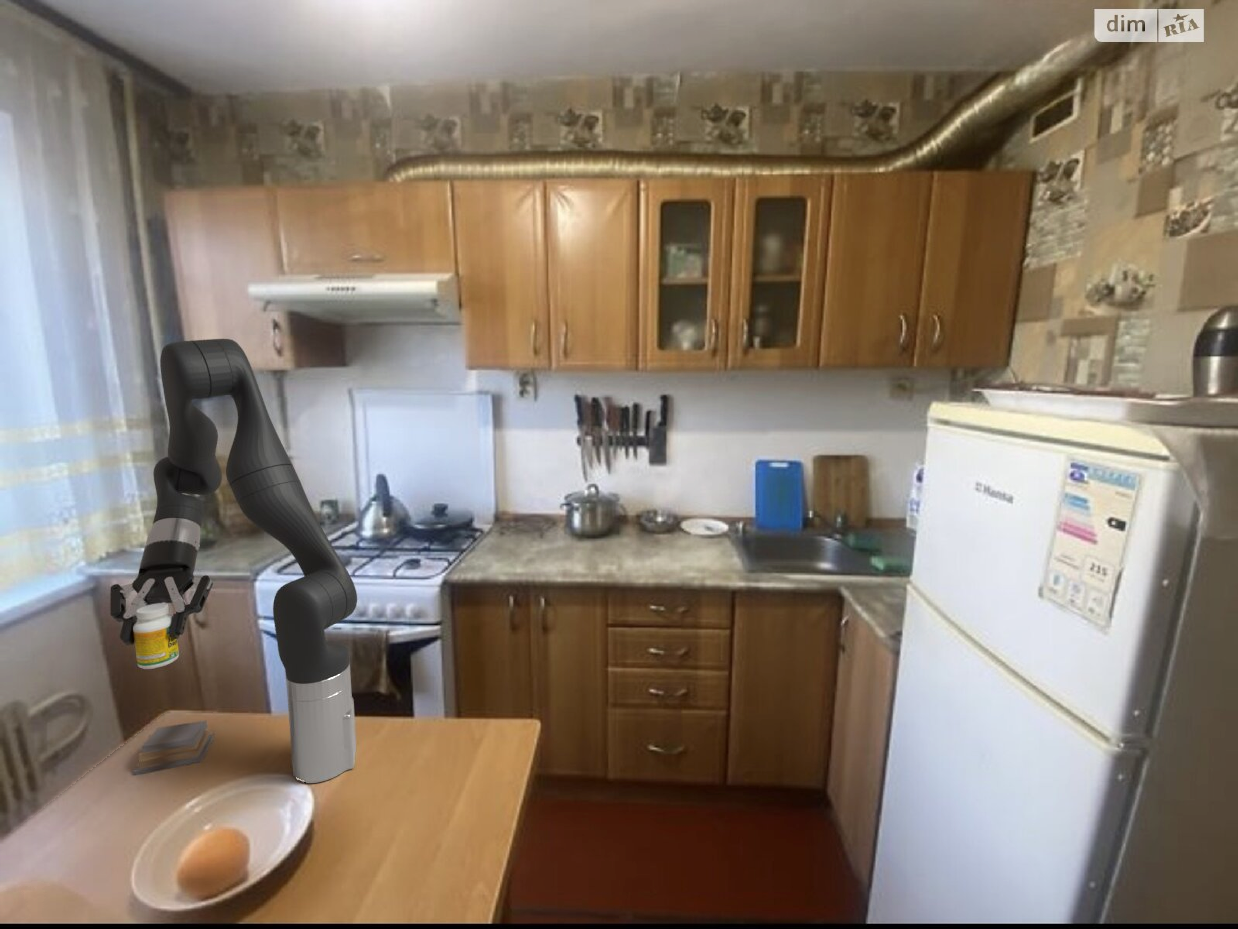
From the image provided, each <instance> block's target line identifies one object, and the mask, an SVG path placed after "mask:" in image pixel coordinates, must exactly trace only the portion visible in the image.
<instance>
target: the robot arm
mask: <svg viewBox="0 0 1238 929" xmlns="http://www.w3.org/2000/svg"><path fill="white" fill-rule="evenodd" d="M159 366H160V375H161V382H162V390H163V395H164V402H165V408H166V413H167V417H168V424H169V434H168V442H167V445H168V446H167V456H165V457H163V458H161V459H159V461H158V462H157V463H156V464H155V466H154V467H153V472H152V473H153V474H152V476H153V483H154V487H155V492H156V508H155V513H154V518H153V522H152V525H151V528H150V530H149V532H148V534H147V537H146V540H145V541H146V542H145V546H144V549H143V553H142V557H141V561H140V564H139V569H138V575H137V577H136V578H135V579H134V580H133V581H132V583H129V584H124V585H120V584H118V583H114V584H113V585H111V587H110V596H109V597H110V599H109V602H110V606H109V607H110V609H109V612H110V616H111V617H112V618H113V619H114V620H116V622H117V623H122V622H123V623H122V626H121V631H120V634H119V638H120V640H121V641H122V642H123V643H124V644H125V645H126V646H131V645H135V641H134V633H133V626H134V625H135V623H136V622H138V621H139V620H138V618H137V610H138V609H139V608H141V607H144V606H147V605H151V604H157V603H166V604H171V603H173V606H174V609H175V613H173V614H172V616H173V619H172V624H171V628H170V637H171V638H172V639H177V640H178V639H179V638H180V636H181V635H183V634H184V633H185V629H186V624H187V619H188V617H189V616H190V615H192V614H195V613H196V614H198V613H201V612H202V611H203V608H204V607H205V604H206V603H207V602H206V601H207V599H208V597H209V595H210V592H211V590H212V587H213V586H214V583H213V581H212V579H211V578H210V576H209V575H202V577H201V576H200V577H197V576H194V573H195V568H196V562H197V559H198V558H197V557H198V553H199V550H200V545H201V544H200V543H201V528H202V524H203V519H204V513H205V505H204V503H203V502H202V500H200V499H198V498H196V497H194V496H191V495H195V496H208V495H212V494H214V493H215V492H217V490H219V489H220V487H221V484H222V480H223V473H222V468H221V466H220V464H219V462H218V461H219V460H218V459H217V456H216V452H217V446H218V441H219V433H218V429H217V426H216V424H215V423H214V421H213V420H212V419H211V417H209V416H207V414H205V413H204V412H203V411H201V410H200V409H199V408H198V407H197V406H195V405H194V403H193V401H194V400H201V399H202V400H203V399H209V398H216V397H221V396H222V397H223V396H230V397H232V399H233V401H234V404H235V407H236V412H237V425H236V428H235V434H234V438H233V441H232V445H231V447H230V451H229V453H228V458H227V461H226V466H225V477H226V480H227V482H228V484H229V487H230V489H231V492H232V493H233V495H234V498H235V500H236V502H237V505H238V506H239V509H240V511H241V512H242V514H244V515H245V517H246V518H247V519H248V520H249V521H251V522H252V523H253V525H255V526H257V527H258V528H259V529H261V530H262V531H264V532H265V533H266V534H268V535H269V536H271V537H272V538H274V539H275V540H276V541H277V542H279V543H280V544H282V545H283V547H285V548H287V550H288V551H289V552H290V553H291V554H292V556H293V558H294V559H295V561H296V563H297V564H298V566H299V568H300V570H301V573H302V574H303V576H302V577H299V578H297V579H294V580H291V581H289V582H287V583H285V584H283V585H282V586H280V588H278V589H277V591H276V593H275V596H274V598H273V599H274V600H273V603H272V604H273V605H272V611H273V612H272V614H273V615H272V616H273V624H274V631H275V635H276V642H277V651H278V656H279V659H280V661H281V663H282V666H283V668H284V671H285V672H284V673H285V680H286V682H285V683H286V696H287V709H288V722H289V723H288V724H289V734H290V735H289V736H290V738H289V739H290V747H291V748H290V749H291V750H290V751H291V752H290V753H291V765H292V775H293V777H294V776H295V777H297V778H299V779H301V780H304V781H305V782H306V784H315V783H321V782H326V781H328V780H330V779H333V778H336V777H338V776H339V775H341V774H343V773H345V771H349V770H353V769H354V767H355V760H356V751H357V735H356V722H355V720H356V719H355V703H354V701H355V700H354V698H353V696H352V682H351V663H350V662H351V660H350V650H349V649H348V647H347V645H346V644H344V643H341V642H338V641H332V640H331V641H330V640H326V634H325V630H326V629H328V628H331V627H332V626H334V625H336V624H338V623H339V622H342V621H343V620H345V619H347V618H349V616H351V615H352V614H353V613H354V612H355V610H356V607H357V604H358V594H357V590H356V585H355V584H354V581H353V579H352V577H351V575H350V573H349V572H348V570H347V568H346V566H345V565H344V563H343V561H342V560H341V558H340V556H339V555H338V553H337V552H336V550H335V548H334V547H333V545H332V544H331V542H330V540H329V538H328V536H327V535H326V533H325V531H324V529H323V528H322V526H321V523H320V521H319V520H318V517H317V515H316V513H315V512H314V509H313V507H312V505H311V503H310V501H309V498H308V497H307V494H306V491H305V489H304V487H303V485H302V482H301V480H300V478H299V475H298V473H297V471H296V469H295V467H294V465H293V463H292V461H291V460H290V457H289V455H288V454H287V451H286V449H285V447H284V445H283V443H282V441H281V438H280V437H279V435H278V433H277V431H276V428H275V426H274V424H273V422H272V419H271V417H270V414H269V412H268V410H267V409H268V408H267V407H266V404H265V401H264V398H263V396H262V393H261V390H260V388H259V384H258V382H257V381H258V380H257V379H256V377H255V374H254V370H253V368H252V366H251V362H250V361H249V358H248V357H247V354H246V353H245V351H244V349H243V348H242V347H241V346H240V344H238V342H237V341H235V340H233V339H230V338H213V339H209V338H208V339H196V340H182V341H176V342H170V343H167V344H166V345H165V346H164V347H163V348H162V350H161V353H160V360H159ZM193 586H194V588H195V591H194V594H193V595H192V597H191V600H190V602H189V603H188V604H187V602H186V600H185V596H184V594H185V593H186V592H188V591H189V590H190V589H191V588H192V587H193ZM134 591H135V592H136V595H135V597H134V598H133V599H132V601H131V604H130V606H129V607H128V609H127V600H126V599H129V598H130V596H131V593H132V592H134ZM295 777H294V778H295Z"/></svg>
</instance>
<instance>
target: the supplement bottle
mask: <svg viewBox="0 0 1238 929" xmlns="http://www.w3.org/2000/svg"><path fill="white" fill-rule="evenodd" d="M169 612H170V607H169V603H157V604H151V605H147V606H144V607H141V608H139V609H138V610H137V618H138V620H139V621H138V622H136V623H135V625H134V626H133V633H134V647H135V655H136V656H135V657H136V663H137V666H138V667H139V668H141V669H144V670H152V669H157V668H161V667H164V666H165V667H166V666H167V665H169V664H171V663H173V662H175V661H176V660H177V659H178V658H179V656H180V652H179V651H180V650H179V641H178V639H172V638H171V637H170V628H171V624H172V619H173V614H169Z"/></svg>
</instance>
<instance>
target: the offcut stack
mask: <svg viewBox="0 0 1238 929" xmlns="http://www.w3.org/2000/svg"><path fill="white" fill-rule="evenodd" d="M207 728H208V720H200V721H194V722H188V723H182V724H181V723H179V724H174V725H168V726H161V727H157V728H156V729H155V730H154V731H153V733H152V734H150V735H149V736H148V738H147V739H146V741H145V742H144V743H143V744H142V746H141V749H140V752H139V754H138V762H137V767H136V768H135V769H134V770H133V776H138V775H142V774H143V775H144V774H148V773H152V772H156V771H161V770H165V769H166V770H167V769H171V768H176V767H177V768H178V767H181V766H185V765H191V764H195V763H201V762H202V760H203V758H204V757H205V755H206V754H207V751H208V749H209V747H210V745H211V744H212V741H213V740H214V738H215V734H214V733H211V734H210V730H209V729H208V730H206V729H207Z"/></svg>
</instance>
